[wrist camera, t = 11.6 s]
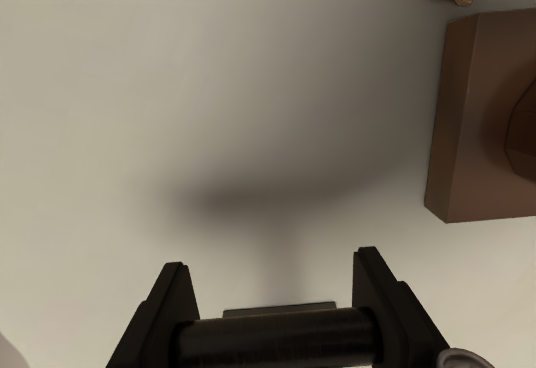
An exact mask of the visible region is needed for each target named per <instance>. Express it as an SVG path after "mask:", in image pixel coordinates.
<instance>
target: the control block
mask: <svg viewBox="0 0 536 368" xmlns="http://www.w3.org/2000/svg"><path fill="white" fill-rule="evenodd" d="M425 207H426V208H427V209H428V210H429V211H431V212H432V213H433V214H434V215H436V216H437V217H438V218H439V219H440V220H442V221H443V222H444V223H446V224H448V223H459V222H471V221H482V220H494V219H505V218H517V217H528V216H536V8H527V9H517V10H506V11H496V12H486V13H479V14H475V15H472V16H468V17H464V18H461V19H457V20H454V21H450V22H448V24H447V32H446V40H445V48H444V55H443V63H442V71H441V79H440V87H439V95H438V103H437V111H436V119H435V127H434V135H433V142H432V150H431V158H430V166H429V174H428V182H427V190H426V198H425Z"/></svg>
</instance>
